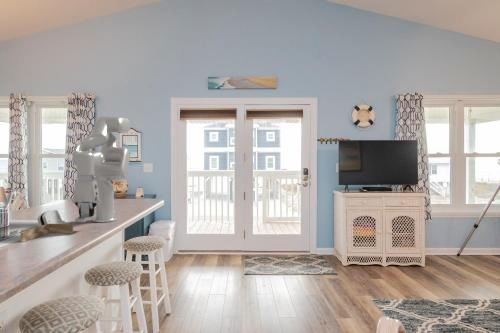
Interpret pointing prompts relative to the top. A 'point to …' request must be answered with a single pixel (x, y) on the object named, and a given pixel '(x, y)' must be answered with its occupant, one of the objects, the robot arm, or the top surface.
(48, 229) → the wooden corner frame
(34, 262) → the top surface
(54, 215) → the hinge
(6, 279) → the top surface
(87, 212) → the bracket
